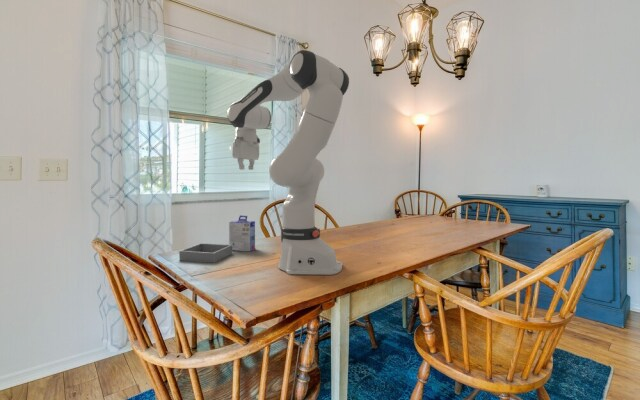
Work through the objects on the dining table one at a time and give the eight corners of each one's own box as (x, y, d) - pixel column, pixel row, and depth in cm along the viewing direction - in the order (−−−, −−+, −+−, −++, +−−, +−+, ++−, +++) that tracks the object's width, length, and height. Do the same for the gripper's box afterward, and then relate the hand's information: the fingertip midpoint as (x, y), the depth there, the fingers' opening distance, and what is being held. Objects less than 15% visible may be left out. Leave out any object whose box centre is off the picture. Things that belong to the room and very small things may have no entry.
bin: (232, 253, 136) (232, 245, 136) (214, 262, 122) (213, 253, 122) (200, 251, 139) (200, 243, 139) (179, 260, 125) (179, 251, 125)
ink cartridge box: (255, 248, 145) (255, 215, 143) (250, 251, 139) (250, 217, 138) (234, 247, 147) (234, 214, 145) (228, 250, 141) (228, 216, 140)
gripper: (242, 135, 137) (242, 169, 138) (261, 140, 157) (261, 169, 158) (228, 135, 138) (228, 169, 139) (249, 140, 158) (249, 169, 159)
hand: (246, 169), depth 149 cm, fingers open, 8 cm apart
